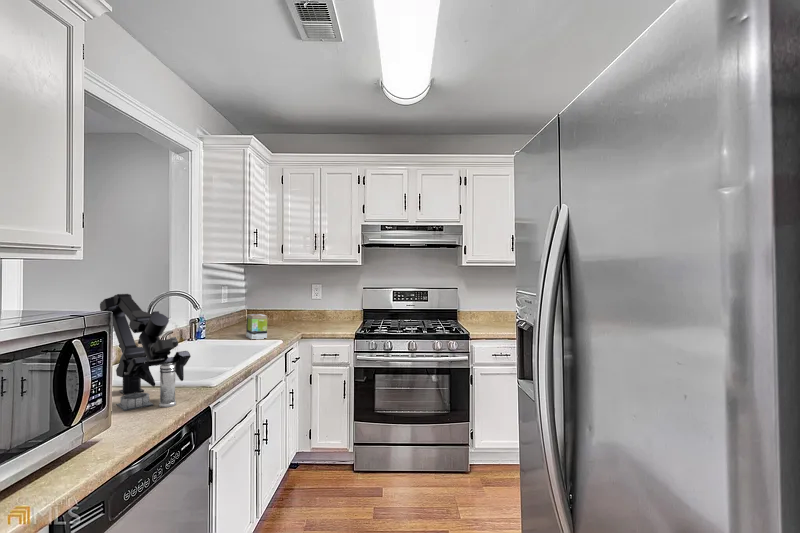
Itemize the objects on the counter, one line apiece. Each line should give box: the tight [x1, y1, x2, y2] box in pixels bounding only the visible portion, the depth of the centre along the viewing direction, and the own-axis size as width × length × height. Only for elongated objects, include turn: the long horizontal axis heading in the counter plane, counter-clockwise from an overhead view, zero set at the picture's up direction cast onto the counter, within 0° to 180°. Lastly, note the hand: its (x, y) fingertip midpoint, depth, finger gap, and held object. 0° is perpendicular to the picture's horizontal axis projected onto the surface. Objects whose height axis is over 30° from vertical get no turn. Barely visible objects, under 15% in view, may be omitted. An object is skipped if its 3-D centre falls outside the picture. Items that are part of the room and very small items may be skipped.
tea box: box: [245, 313, 268, 340], centre depth 304 cm, size 15×10×15 cm, turn 30°
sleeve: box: [116, 392, 155, 412], centre depth 156 cm, size 9×9×3 cm
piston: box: [158, 363, 177, 408], centre depth 156 cm, size 5×5×13 cm
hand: (168, 382), depth 156 cm, fingers open, 9 cm apart
